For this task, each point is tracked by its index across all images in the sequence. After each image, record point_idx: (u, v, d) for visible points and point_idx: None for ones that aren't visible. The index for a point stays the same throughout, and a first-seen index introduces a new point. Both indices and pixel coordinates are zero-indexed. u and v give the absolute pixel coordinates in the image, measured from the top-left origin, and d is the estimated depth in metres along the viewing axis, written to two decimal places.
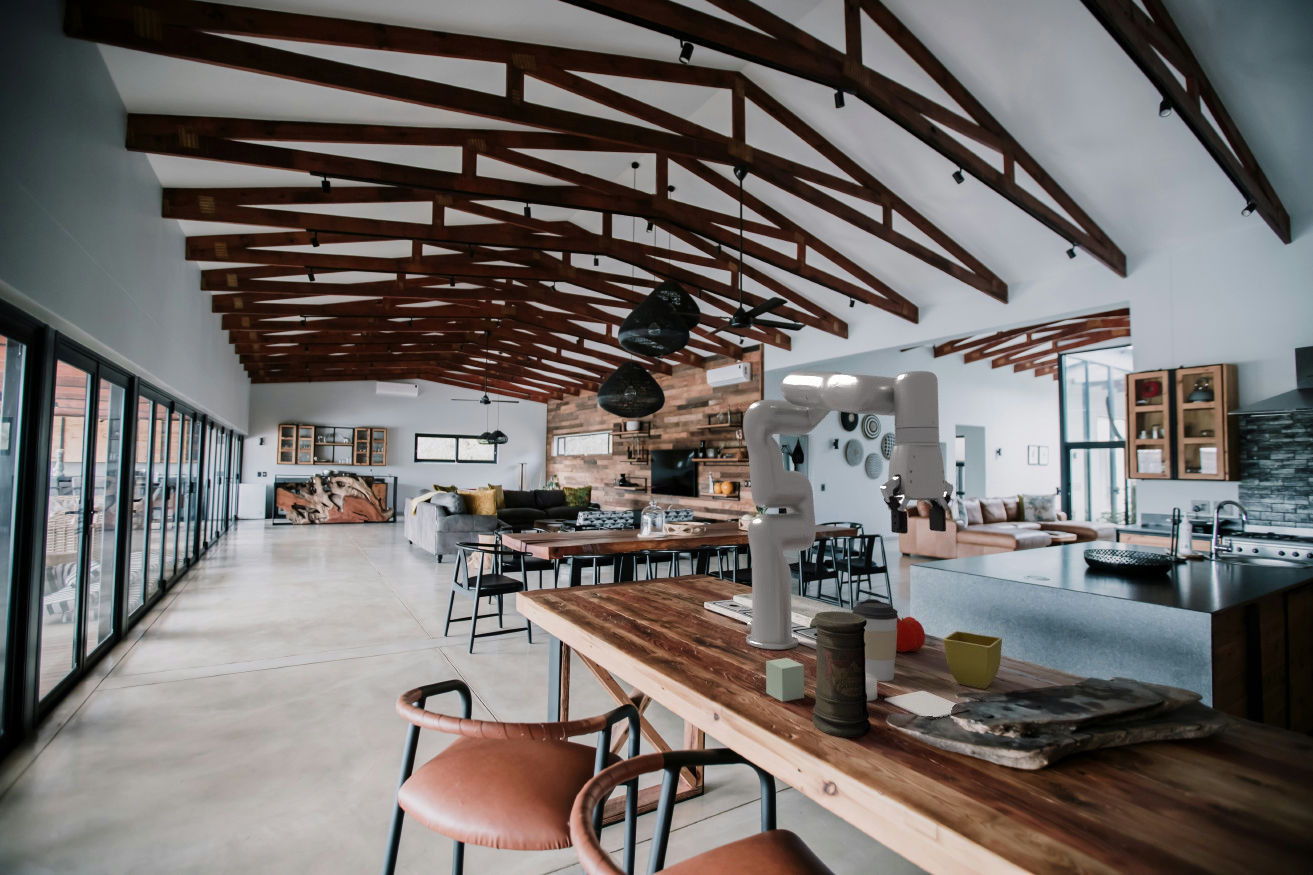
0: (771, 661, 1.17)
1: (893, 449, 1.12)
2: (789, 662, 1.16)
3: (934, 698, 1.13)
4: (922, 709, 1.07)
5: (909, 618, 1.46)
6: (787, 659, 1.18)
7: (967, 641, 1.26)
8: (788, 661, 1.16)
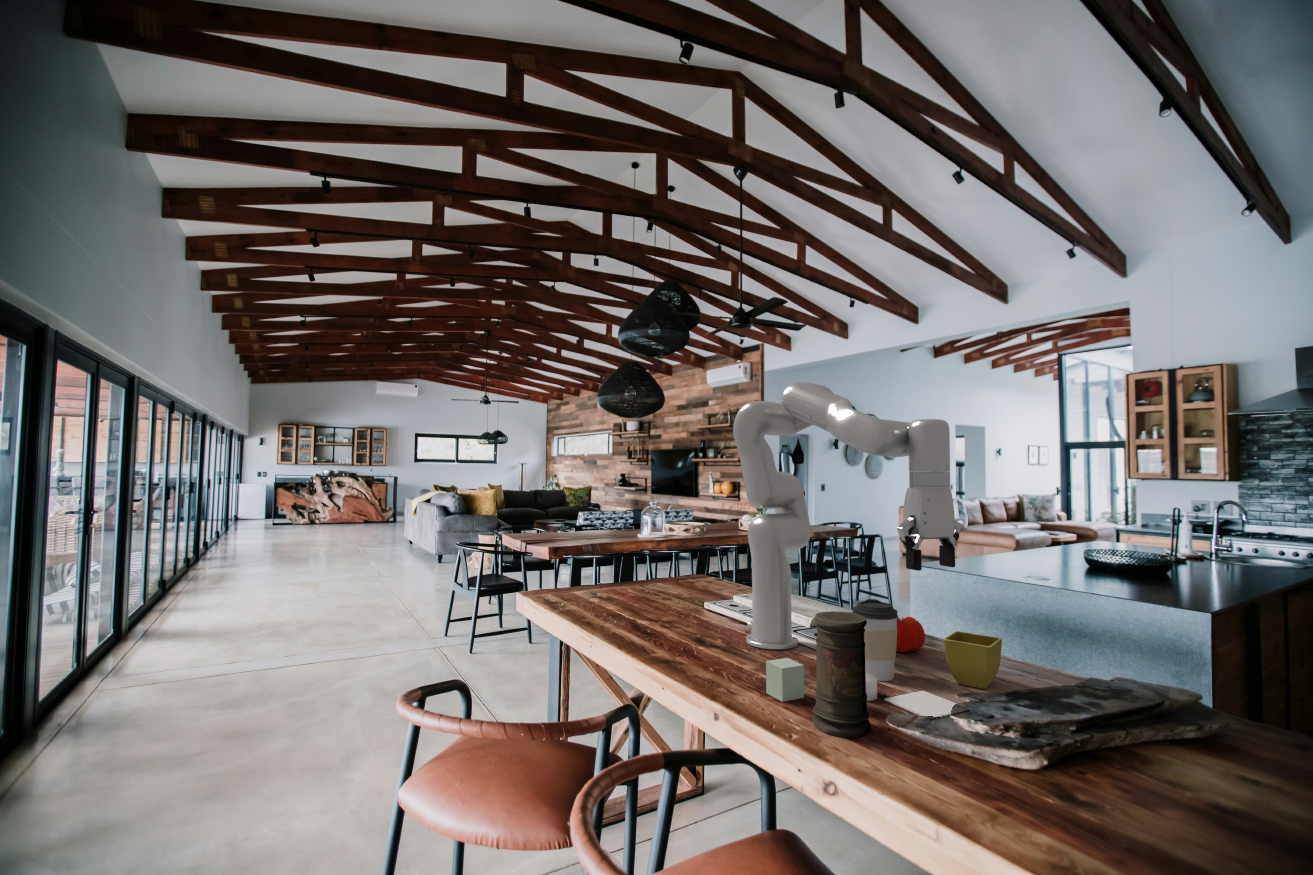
0: (771, 661, 1.17)
1: (908, 491, 1.21)
2: (789, 662, 1.16)
3: (934, 698, 1.13)
4: (922, 709, 1.07)
5: (909, 618, 1.46)
6: (787, 659, 1.18)
7: (967, 641, 1.26)
8: (788, 661, 1.16)
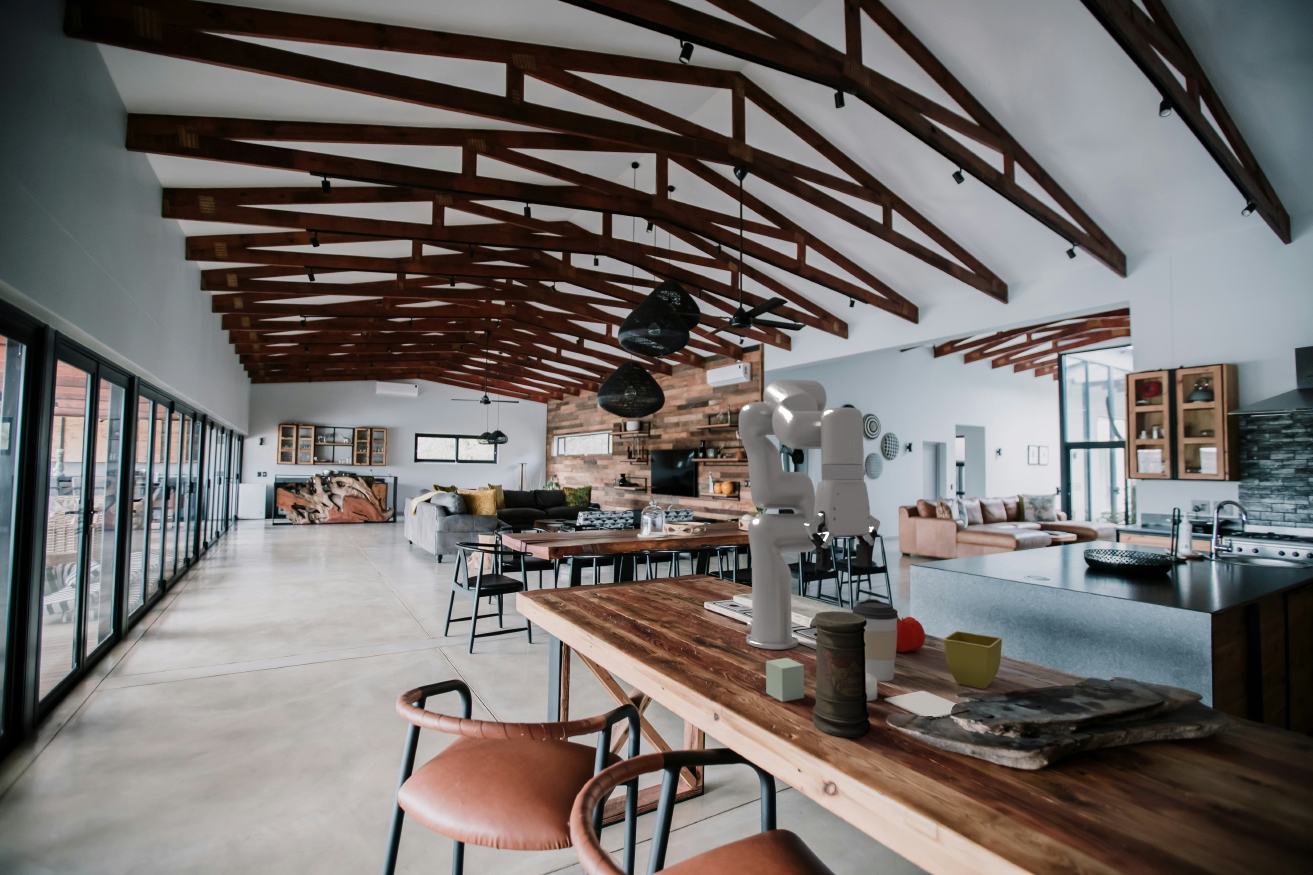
0: (771, 661, 1.17)
1: (818, 485, 1.12)
2: (789, 662, 1.16)
3: (934, 698, 1.13)
4: (922, 709, 1.07)
5: (909, 618, 1.46)
6: (787, 659, 1.18)
7: (967, 641, 1.26)
8: (788, 661, 1.16)
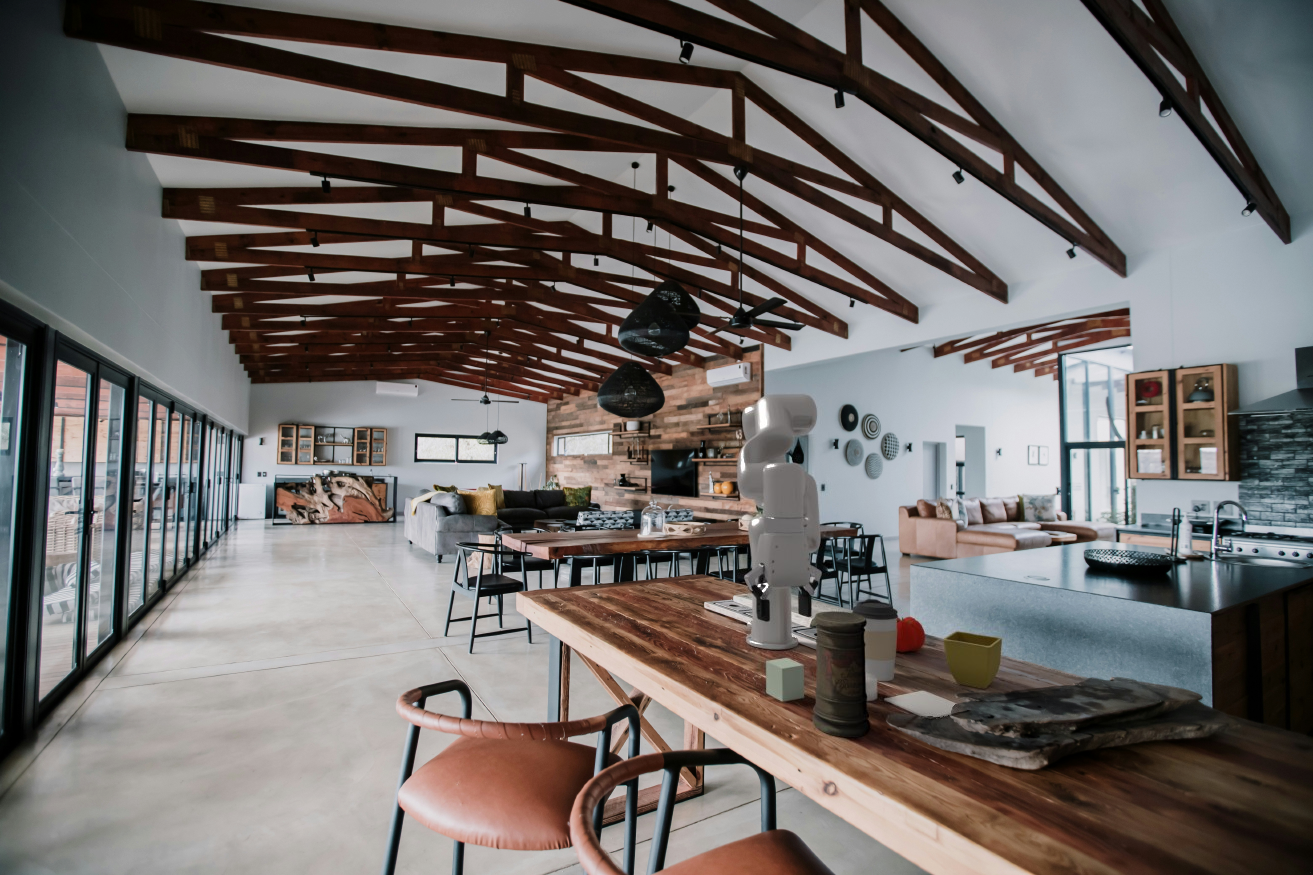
0: (771, 661, 1.16)
1: (760, 537, 1.16)
2: (789, 662, 1.16)
3: (934, 698, 1.13)
4: (922, 709, 1.07)
5: (909, 618, 1.46)
6: (787, 659, 1.18)
7: (967, 641, 1.26)
8: (788, 661, 1.16)
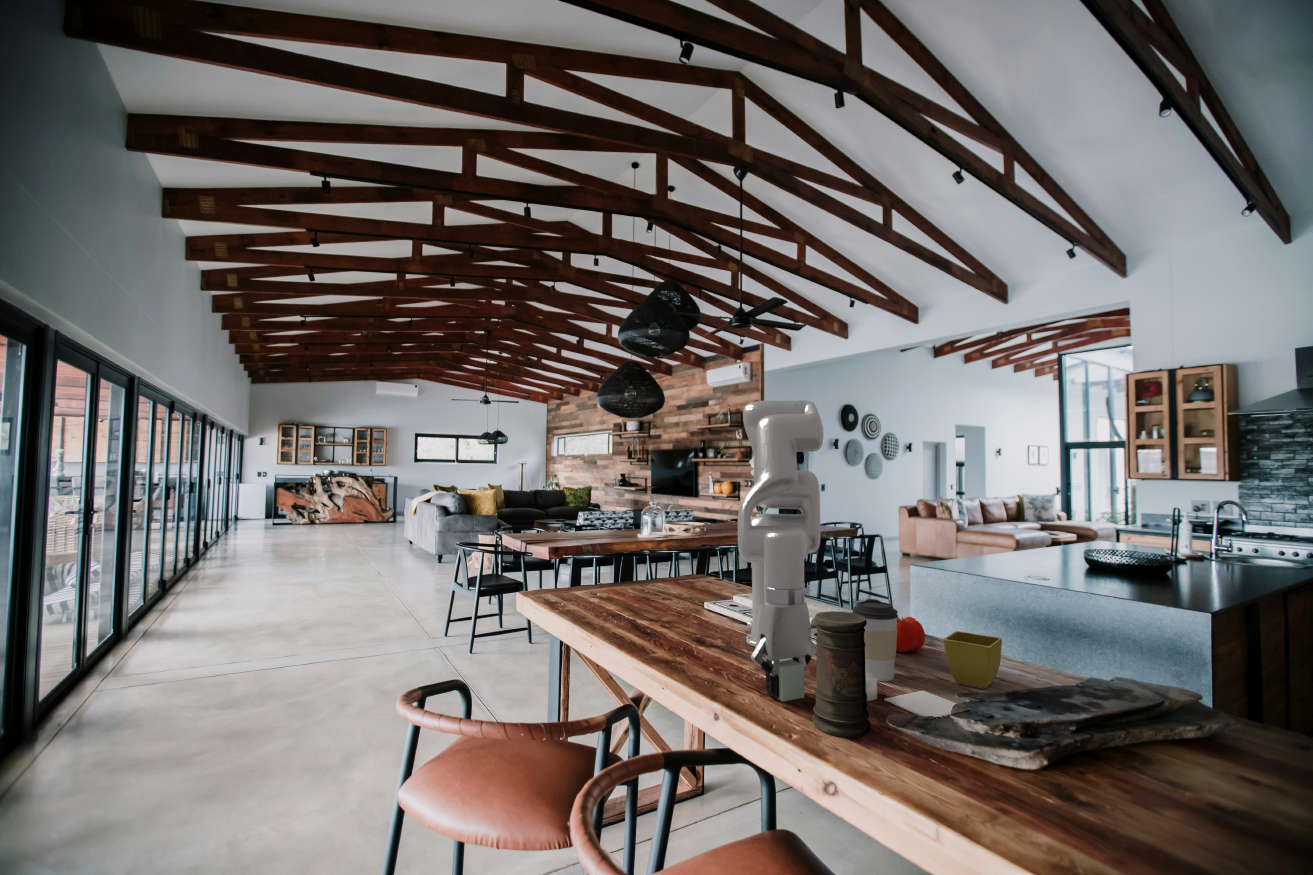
0: (771, 661, 1.16)
1: (760, 607, 1.15)
2: (789, 662, 1.16)
3: (934, 698, 1.13)
4: (922, 709, 1.07)
5: (909, 618, 1.46)
6: (787, 659, 1.18)
7: (967, 641, 1.26)
8: (788, 661, 1.16)
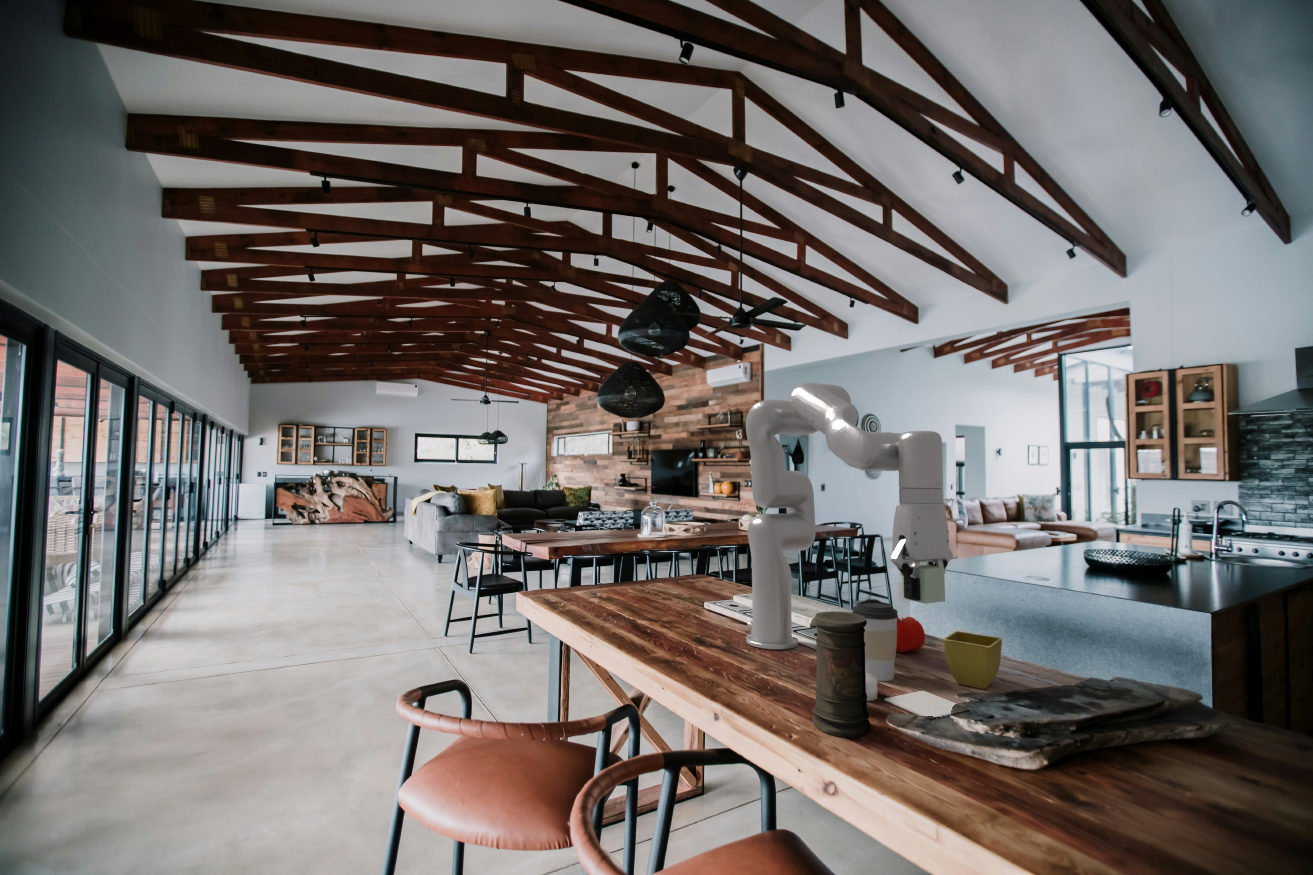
0: None
1: (897, 509, 1.12)
2: (928, 566, 1.12)
3: (934, 698, 1.13)
4: (922, 709, 1.07)
5: (909, 618, 1.46)
6: (923, 564, 1.14)
7: (967, 641, 1.26)
8: (925, 565, 1.13)
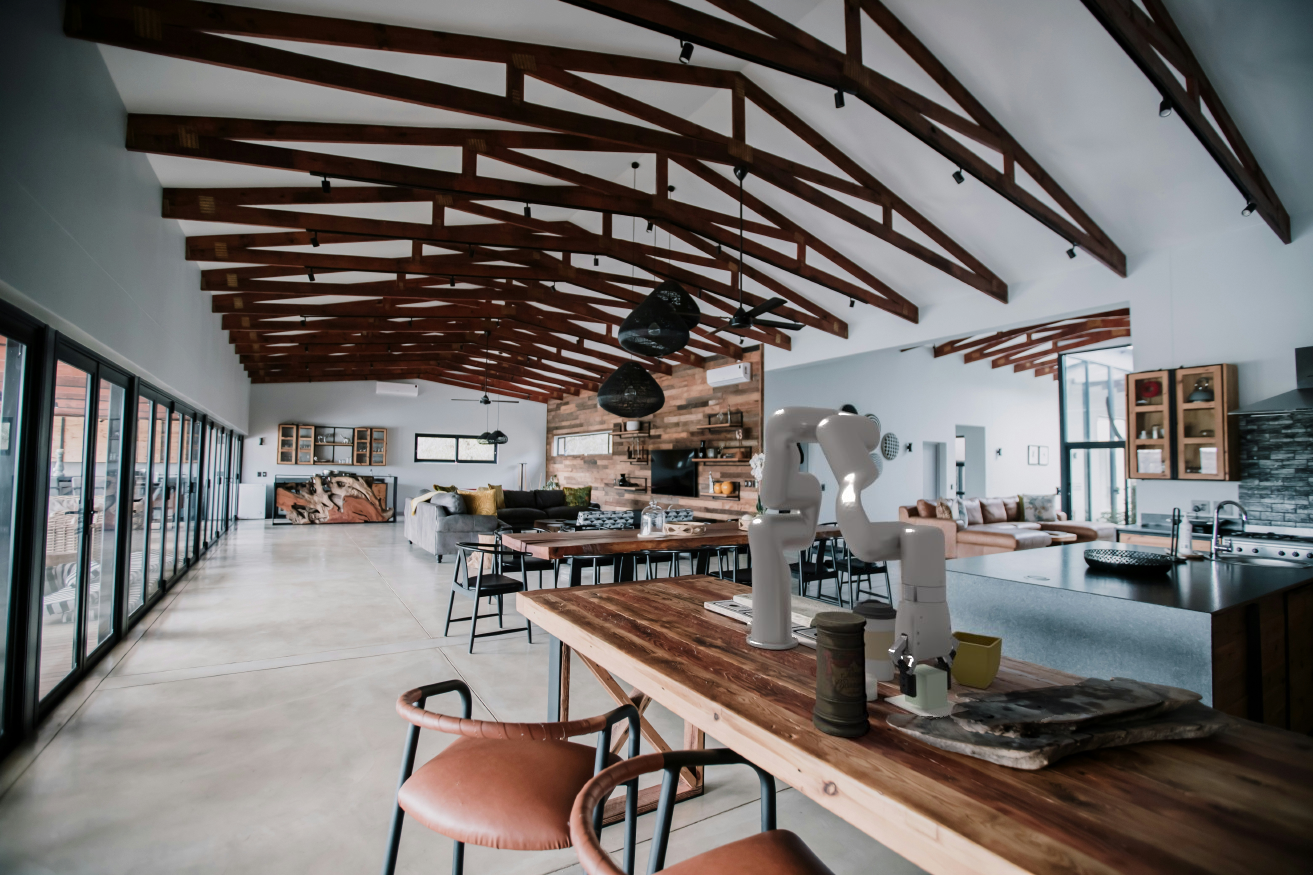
0: None
1: (900, 605, 1.11)
2: (930, 669, 1.11)
3: None
4: (922, 709, 1.07)
5: None
6: (925, 665, 1.13)
7: (967, 641, 1.26)
8: (928, 667, 1.12)
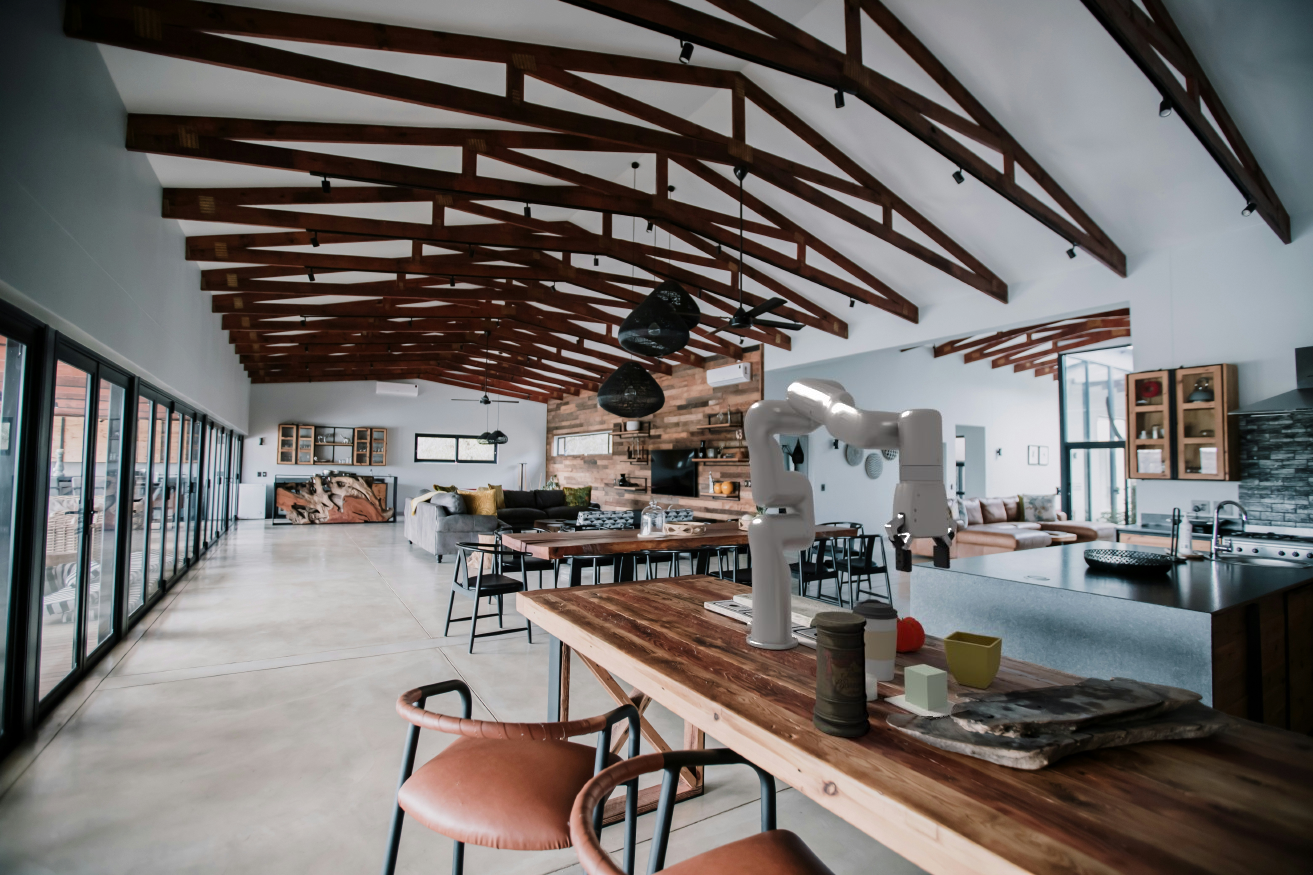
0: (910, 668, 1.12)
1: (897, 486, 1.12)
2: (930, 669, 1.11)
3: None
4: (922, 709, 1.07)
5: (909, 618, 1.46)
6: (925, 665, 1.13)
7: (967, 641, 1.26)
8: (928, 667, 1.12)
